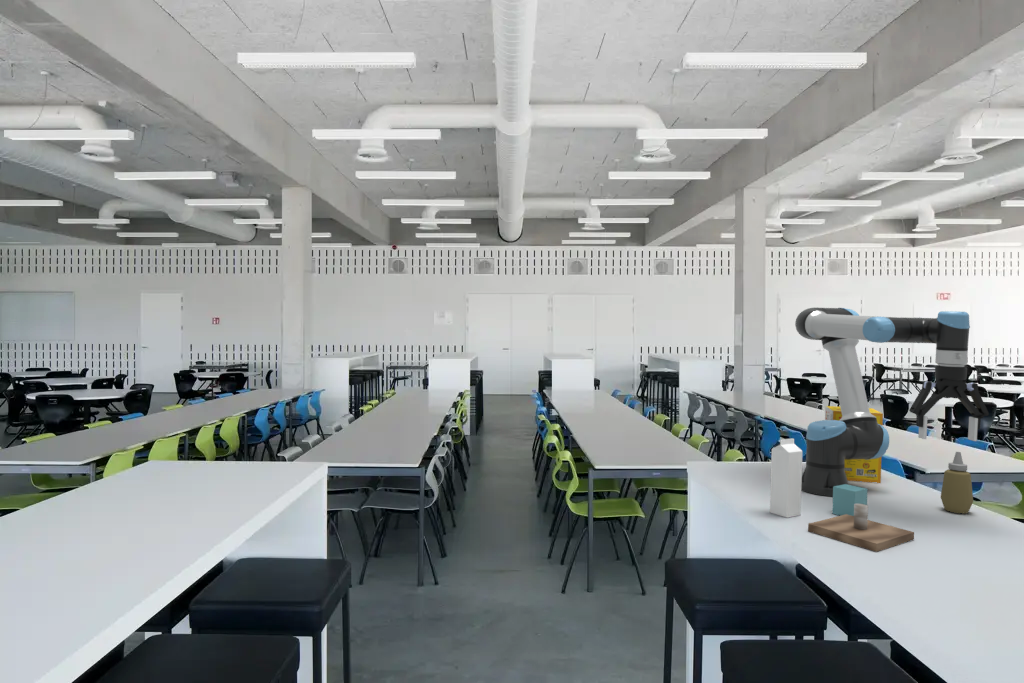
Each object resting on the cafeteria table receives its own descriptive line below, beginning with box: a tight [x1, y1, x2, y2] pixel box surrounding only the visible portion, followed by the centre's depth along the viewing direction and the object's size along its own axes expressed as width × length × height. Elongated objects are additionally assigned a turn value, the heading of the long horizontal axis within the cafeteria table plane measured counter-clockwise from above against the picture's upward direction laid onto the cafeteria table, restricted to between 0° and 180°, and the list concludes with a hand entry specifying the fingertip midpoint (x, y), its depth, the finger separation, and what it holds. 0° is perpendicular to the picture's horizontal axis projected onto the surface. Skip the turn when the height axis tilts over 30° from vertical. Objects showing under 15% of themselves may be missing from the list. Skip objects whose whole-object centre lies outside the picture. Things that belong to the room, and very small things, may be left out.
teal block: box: [831, 484, 868, 516], centre depth 186 cm, size 6×6×8 cm
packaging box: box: [824, 405, 884, 484], centre depth 236 cm, size 16×16×25 cm
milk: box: [769, 437, 803, 519], centre depth 185 cm, size 6×6×22 cm
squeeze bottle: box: [940, 451, 974, 515], centre depth 191 cm, size 8×8×18 cm
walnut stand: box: [807, 504, 915, 553], centre depth 167 cm, size 18×18×8 cm
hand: (947, 439), depth 182 cm, fingers open, 13 cm apart
